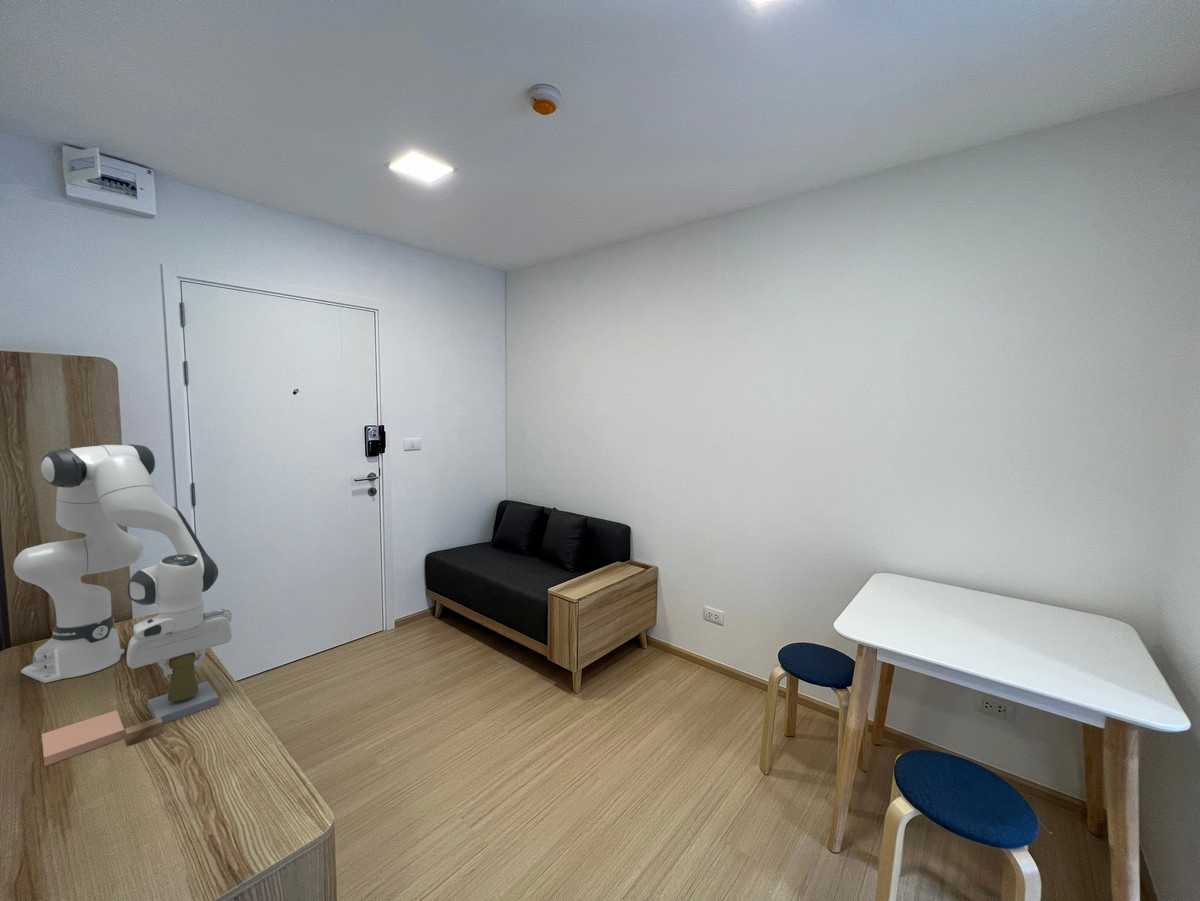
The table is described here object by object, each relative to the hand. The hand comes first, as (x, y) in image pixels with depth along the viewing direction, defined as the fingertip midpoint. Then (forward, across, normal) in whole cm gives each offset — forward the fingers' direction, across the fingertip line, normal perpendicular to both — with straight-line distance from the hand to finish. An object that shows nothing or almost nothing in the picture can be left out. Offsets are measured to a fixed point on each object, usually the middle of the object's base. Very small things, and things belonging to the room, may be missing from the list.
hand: (182, 670), depth 121 cm
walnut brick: (+10, +8, +9) cm, 16 cm away
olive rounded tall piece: (+7, 0, 0) cm, 7 cm away
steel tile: (+9, 0, 0) cm, 9 cm away
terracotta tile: (+9, +18, 0) cm, 20 cm away
